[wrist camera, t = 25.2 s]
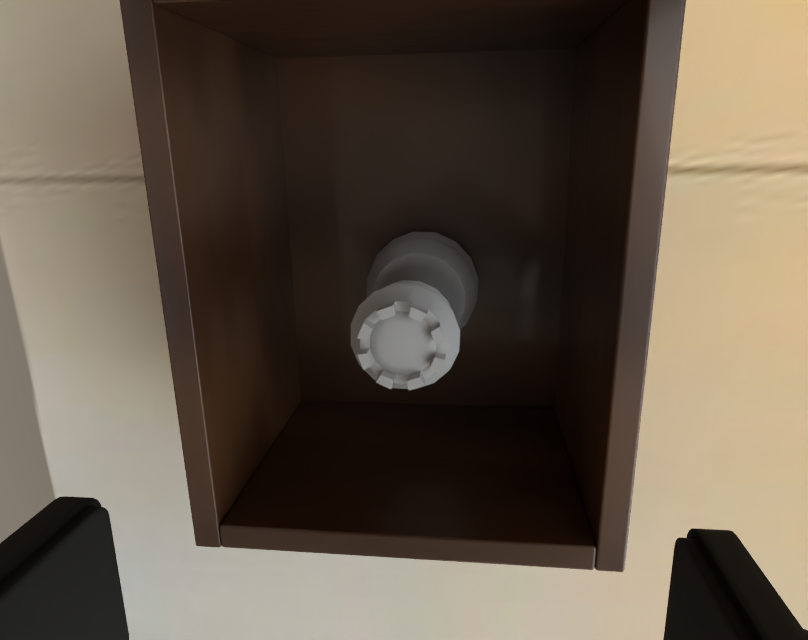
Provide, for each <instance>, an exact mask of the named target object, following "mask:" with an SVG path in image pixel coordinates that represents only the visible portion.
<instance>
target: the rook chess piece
mask: <svg viewBox="0 0 808 640" xmlns="http://www.w3.org/2000/svg"><path fill="white" fill-rule="evenodd" d="M477 296H478V276H477V273H476V270H475V267H474V265H473V262H472V259H471V257H470V256H469V255H468V254H467V253H466V252H465V251H464V250H463V249H462V248H461V247H460V246H459V244H458V243H457V242H455V241H453V240H451V239H449V238H447V237H444V236H442V235H440V234H438V233H436V232H411V233H408V234H406V235H403V236H400V237H398V238H395V239H393V240H392V241H391V242H390V243H388V244H387V245H386V246H385V247H384V248H383V249H382V250H381V251H380V252H379V253H378V254H377V256H376V258H375V261H374V263H373V265H372V268H371V270H370V272H369V275H368V277H367V299H366V300H365V301H363V302H362V303H361V304H360V305H359V307H358V309H357V311H356V314H355V316H354V318H353V320H352V323H351V347H352V349H353V352H354V354H355V356H356V359H357V361H358V363H359V365H360V366H361V367H362V368H363V370H365V371H366V372H367V373H368V374H369V375H370V376H371V377H372V378H373V379H374V380H376V383H378V384H380V385H383V386H385V387H387V388H389V389H392V388H401V389H408V390H412V389H417V388H420V387H423V386H426V385H430V384H433V383H435V382H436V381H437V380H438V379H440V378H441V377H442V376H443V375H444V374H446V373H447V372H448V371H449V370H450V369H451V367H452V365H453V363H454V361H455V359H456V357H457V355H458V353H459V345H460V329H461V328H462V327H464V326H465V325H466V324H467V322H468V320H469V318H470V316H471V314H472V312H473V310H474V308H475V306H476V302H477Z"/></svg>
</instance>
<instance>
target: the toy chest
mask: <svg viewBox="0 0 808 640" xmlns="http://www.w3.org/2000/svg"><path fill="white" fill-rule="evenodd" d="M685 4H686V0H120V6H121V13H122V20H123V27H124V34H125V41H126V48H127V56H128V63H129V70H130V77H131V84H132V91H133V98H134V106H135V113H136V120H137V127H138V134H139V141H140V148H141V155H142V163H143V170H144V177H145V184H146V191H147V198H148V205H149V213H150V220H151V227H152V234H153V241H154V248H155V255H156V263H157V270H158V277H159V284H160V291H161V298H162V305H163V313H164V320H165V327H166V334H167V341H168V348H169V355H170V363H171V370H172V377H173V384H174V391H175V398H176V405H177V412H178V420H179V427H180V434H181V441H182V448H183V455H184V462H185V470H186V477H187V484H188V491H189V498H190V505H191V512H192V520H193V527H194V534H195V541H196V546H205V547H221V546H223V547H231V548H247V549H264V550H280V551H296V552H312V553H328V554H345V555H361V556H377V557H393V558H410V559H426V560H442V561H458V562H475V563H491V564H507V565H523V566H540V567H556V568H572V569H588V570H592V569H594V567H595V568H596V570H599V571H616V572H623V571H624V568H625V558H626V549H627V540H628V531H629V522H630V512H631V503H632V494H633V485H634V475H635V466H636V457H637V448H638V438H639V429H640V420H641V411H642V401H643V392H644V383H645V374H646V364H647V355H648V346H649V337H650V327H651V318H652V309H653V300H654V290H655V281H656V272H657V263H658V253H659V244H660V235H661V226H662V216H663V207H664V198H665V189H666V179H667V170H668V161H669V152H670V142H671V133H672V124H673V115H674V105H675V96H676V87H677V78H678V68H679V59H680V50H681V41H682V31H683V22H684V13H685ZM411 232H436V233H438V234H440V235H442V236H444V237H447V238H449V239H451V240H453V241H455V242H457V243H458V244H459V246H460V247H461V248H462V249H463V250H464V251H465V252H466V253H467V254H468V255H469V256H470V257H471V259H472V262H473V265H474V267H475V270H476V273H477V276H478V296H477V302H476V306H475V308H474V310H473V312H472V314H471V316H470V318H469V320H468V322H467V324H466V325H465V326H464V327H462V328H461V329H460V345H459V353H458V355H457V357H456V359H455V361H454V363H453V365H452V367H451V369H450V370H449V371H448V372H447V373H446V374H444V375H443V376H442V377H441V378H440V379H438V380H437V381H436V382H435V383H433V384H430V385H426V386H423V387H420V388H417V389H412V390H408V389H401V388H392V389H389V388H387V387H385V386H383V385H380V384H378V383H376V380H374V379H373V378H372V377H371V376H370V375H369V374H368V373H367V372H366V371H365V370H363V368H362V367H361V366H360V365H359V363H358V361H357V359H356V356H355V354H354V352H353V349H352V347H351V323H352V320H353V318H354V316H355V314H356V311H357V309H358V307H359V305H360V304H361V303H362V302H363V301H365V300H366V299H367V277H368V275H369V272H370V270H371V268H372V265H373V263H374V261H375V258H376V256H377V254H378V253H379V252H380V251H381V250H382V249H383V248H384V247H385V246H386V245H387V244H388V243H390V242H391V241H392V240H393V239H395V238H398V237H400V236H403V235H406V234H408V233H411Z"/></svg>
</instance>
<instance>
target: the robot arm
mask: <svg viewBox="0 0 808 640" xmlns="http://www.w3.org/2000/svg"><path fill="white" fill-rule="evenodd" d="M0 640H129V633H128V627H127V621H126V615H125V609H124V603H123V596H122V590H121V584H120V578H119V572H118V566H117V560H116V554H115V548H114V542H113V536H112V530H111V524H110V518H109V514H108V511H107V510H106V509H105V508H103V507H101V504H100V503H99V501H98V500H97V499H94V498H83V497H59V498H57V499H55V500H54V501H53V502H51V503H50V504H49V505H48V506H46V507H45V508H44V509H43V510H41V511H40V512H39V513H38V514H36V515H35V516H34V517H33V518H31V519H30V520H29V521H28V522H26V523H25V524H24V525H23V526H21V527H20V528H19V529H18V530H17V531H15V532H14V533H13V534H12V535H10V536H9V537H8V538H7V539H5V540H4V541H3V542H2V543H1V544H0ZM664 640H808V631H807V630H805V629H803V628H802V627H801V625H800V624H799V623H798V621H797V620H796V618H795V617H794V616H793V614H792V613H791V611H790V610H789V609H788V607H787V606H786V604H785V603H784V602H783V600H782V599H781V597H780V596H779V595H778V593H777V592H776V590H775V589H774V588H773V586H772V585H771V583H770V582H769V581H768V579H767V578H766V576H765V575H764V573H763V572H762V571H761V569H760V568H759V566H758V565H757V564H756V562H755V561H754V559H753V558H752V557H751V555H750V554H749V552H748V551H747V550H746V548H745V547H744V545H743V544H742V543H741V541H740V540H739V538H738V537H737V536H736V535H735V534H734V533H733V532H732V531H729V530H709V529H691V530H689V532H688V534H687V538H678V539H677V540H676V542H675V548H674V556H673V565H672V573H671V581H670V590H669V598H668V607H667V615H666V624H665V632H664Z"/></svg>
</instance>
